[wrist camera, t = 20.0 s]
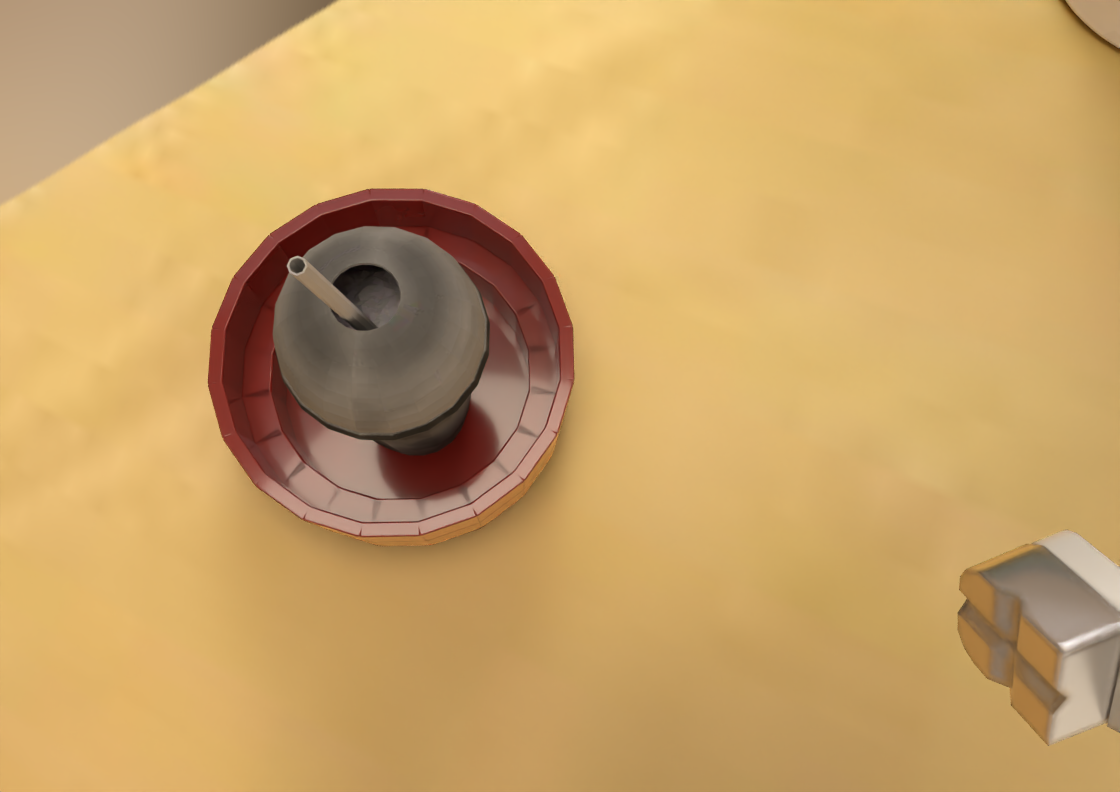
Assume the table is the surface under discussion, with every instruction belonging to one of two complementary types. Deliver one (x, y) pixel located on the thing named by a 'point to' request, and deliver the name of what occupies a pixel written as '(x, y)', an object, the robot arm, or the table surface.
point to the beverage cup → (382, 338)
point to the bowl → (363, 465)
